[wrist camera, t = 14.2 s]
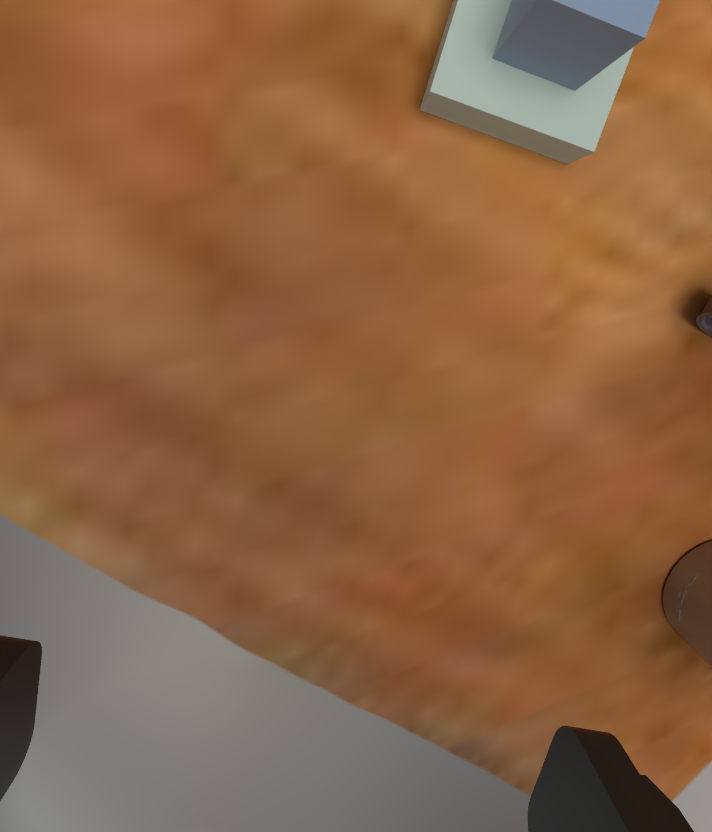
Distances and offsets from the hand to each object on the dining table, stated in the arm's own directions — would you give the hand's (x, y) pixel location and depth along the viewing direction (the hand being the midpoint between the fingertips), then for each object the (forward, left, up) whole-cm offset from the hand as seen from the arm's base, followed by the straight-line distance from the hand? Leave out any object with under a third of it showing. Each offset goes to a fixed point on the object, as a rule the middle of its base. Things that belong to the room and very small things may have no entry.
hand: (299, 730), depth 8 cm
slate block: (-8, -22, -26) cm, 35 cm away
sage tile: (-8, -22, -30) cm, 38 cm away
